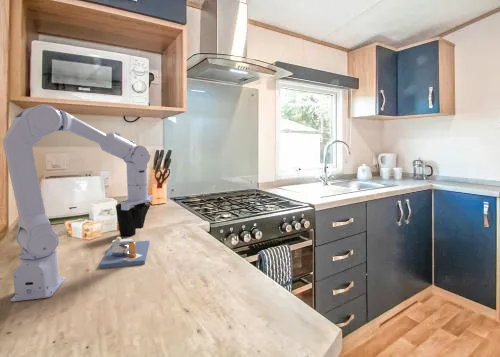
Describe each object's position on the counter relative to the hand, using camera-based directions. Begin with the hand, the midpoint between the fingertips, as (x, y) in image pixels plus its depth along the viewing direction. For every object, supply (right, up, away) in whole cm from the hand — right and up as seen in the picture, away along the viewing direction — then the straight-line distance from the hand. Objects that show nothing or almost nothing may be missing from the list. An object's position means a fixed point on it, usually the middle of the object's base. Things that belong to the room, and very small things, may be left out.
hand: (139, 227), depth 88 cm
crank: (-4, -8, -1) cm, 9 cm away
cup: (-13, -7, +23) cm, 28 cm away
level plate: (-5, -9, +3) cm, 11 cm away
